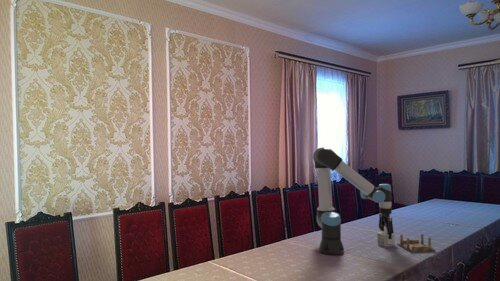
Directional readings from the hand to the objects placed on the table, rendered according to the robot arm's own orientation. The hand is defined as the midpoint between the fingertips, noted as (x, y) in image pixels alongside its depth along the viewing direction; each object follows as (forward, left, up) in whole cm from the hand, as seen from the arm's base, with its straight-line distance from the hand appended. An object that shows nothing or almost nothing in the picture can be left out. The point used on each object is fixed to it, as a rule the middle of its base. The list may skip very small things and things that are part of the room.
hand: (386, 241), depth 227 cm
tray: (+15, -9, -2) cm, 18 cm away
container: (0, 0, -2) cm, 2 cm away
